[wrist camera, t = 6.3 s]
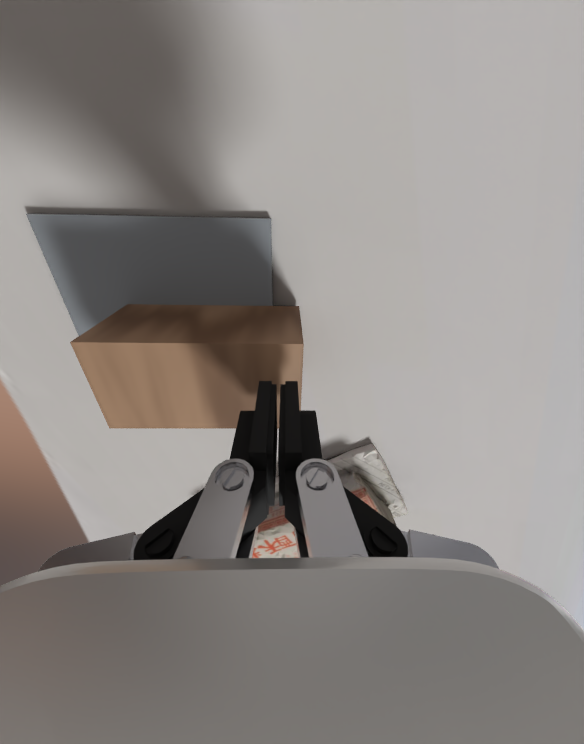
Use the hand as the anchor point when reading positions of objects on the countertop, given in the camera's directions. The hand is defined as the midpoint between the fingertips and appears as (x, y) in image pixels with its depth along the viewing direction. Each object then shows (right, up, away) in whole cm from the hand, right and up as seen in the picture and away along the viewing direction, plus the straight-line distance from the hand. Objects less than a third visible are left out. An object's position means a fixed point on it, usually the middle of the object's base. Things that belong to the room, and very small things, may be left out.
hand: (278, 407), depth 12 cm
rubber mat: (-7, +4, +5) cm, 9 cm away
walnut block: (+1, +2, +3) cm, 4 cm away
